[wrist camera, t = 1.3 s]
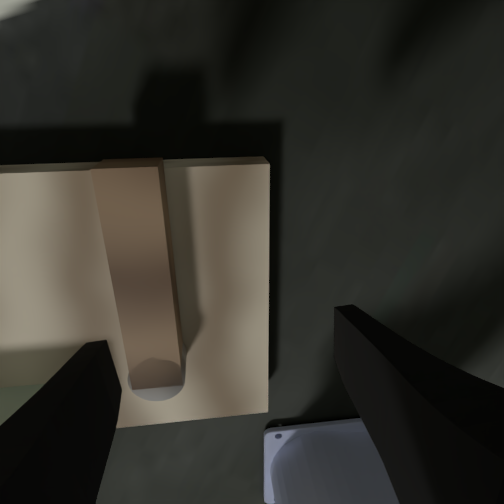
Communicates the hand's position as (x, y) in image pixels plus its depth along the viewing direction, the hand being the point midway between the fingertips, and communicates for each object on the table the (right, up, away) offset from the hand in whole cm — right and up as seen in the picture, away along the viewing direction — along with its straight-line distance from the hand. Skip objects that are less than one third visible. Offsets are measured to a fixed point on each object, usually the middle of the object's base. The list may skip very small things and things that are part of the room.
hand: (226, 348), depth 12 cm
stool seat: (-7, 0, +9) cm, 12 cm away
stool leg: (-4, +2, +7) cm, 8 cm away
